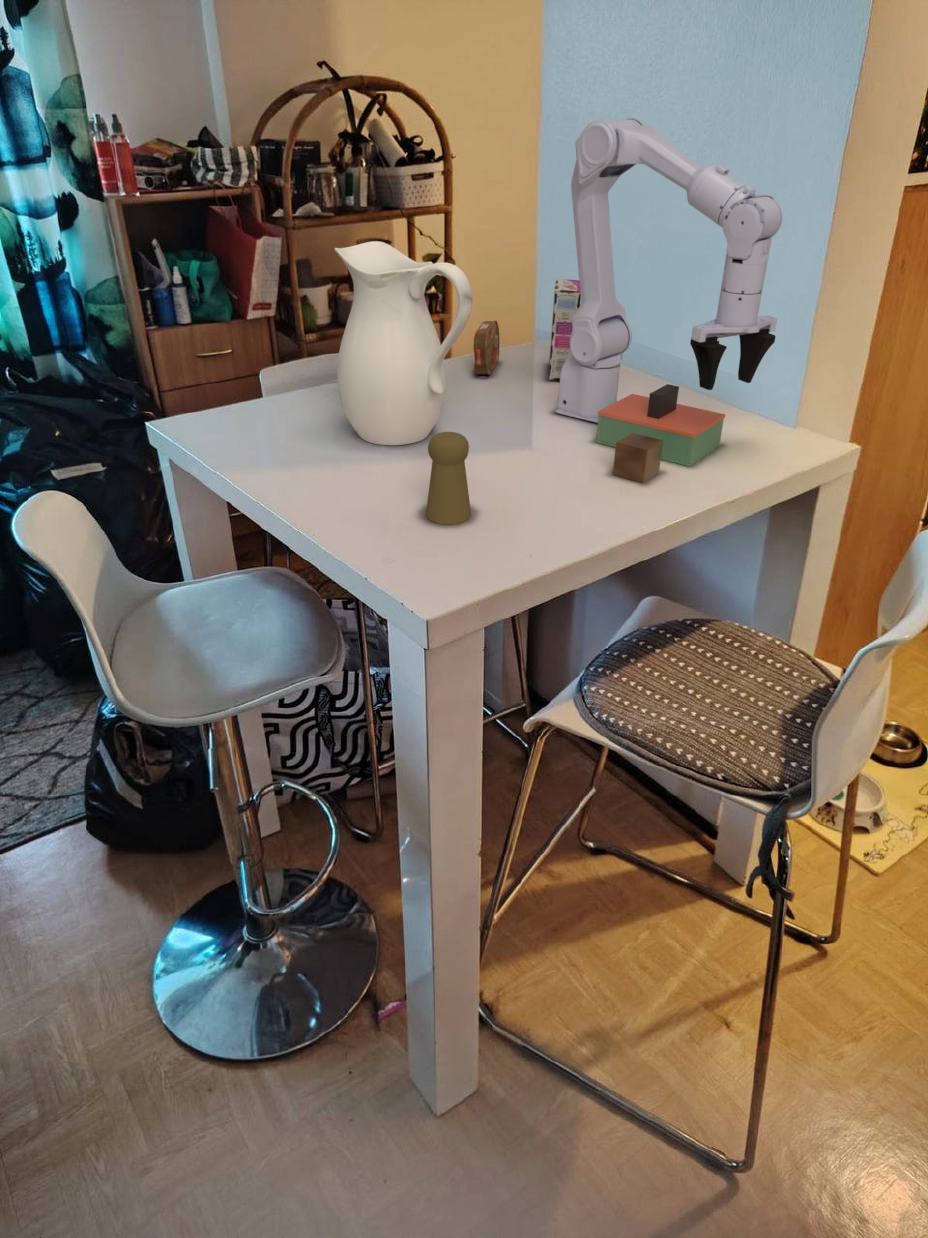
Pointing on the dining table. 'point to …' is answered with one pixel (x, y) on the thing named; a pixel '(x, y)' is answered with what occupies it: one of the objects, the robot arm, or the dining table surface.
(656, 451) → the walnut block
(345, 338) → the pitcher
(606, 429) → the box
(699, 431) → the lunchbox lid
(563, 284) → the candy bar box
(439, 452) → the olive pawn figure
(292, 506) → the dining table surface
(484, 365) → the tin
